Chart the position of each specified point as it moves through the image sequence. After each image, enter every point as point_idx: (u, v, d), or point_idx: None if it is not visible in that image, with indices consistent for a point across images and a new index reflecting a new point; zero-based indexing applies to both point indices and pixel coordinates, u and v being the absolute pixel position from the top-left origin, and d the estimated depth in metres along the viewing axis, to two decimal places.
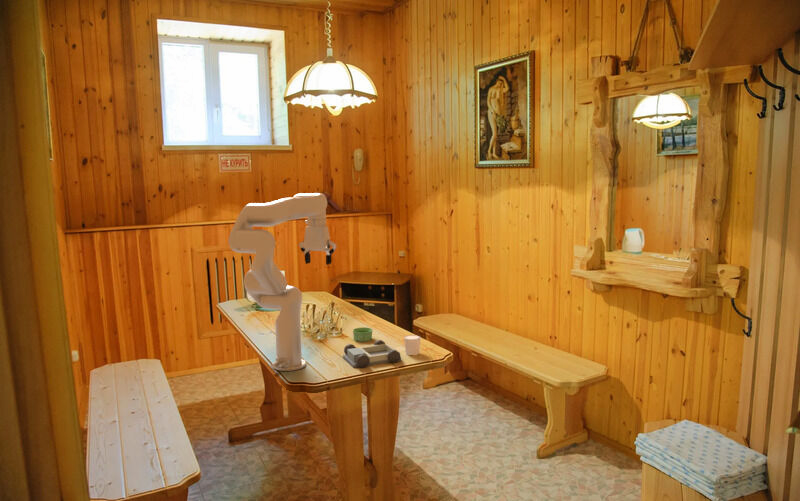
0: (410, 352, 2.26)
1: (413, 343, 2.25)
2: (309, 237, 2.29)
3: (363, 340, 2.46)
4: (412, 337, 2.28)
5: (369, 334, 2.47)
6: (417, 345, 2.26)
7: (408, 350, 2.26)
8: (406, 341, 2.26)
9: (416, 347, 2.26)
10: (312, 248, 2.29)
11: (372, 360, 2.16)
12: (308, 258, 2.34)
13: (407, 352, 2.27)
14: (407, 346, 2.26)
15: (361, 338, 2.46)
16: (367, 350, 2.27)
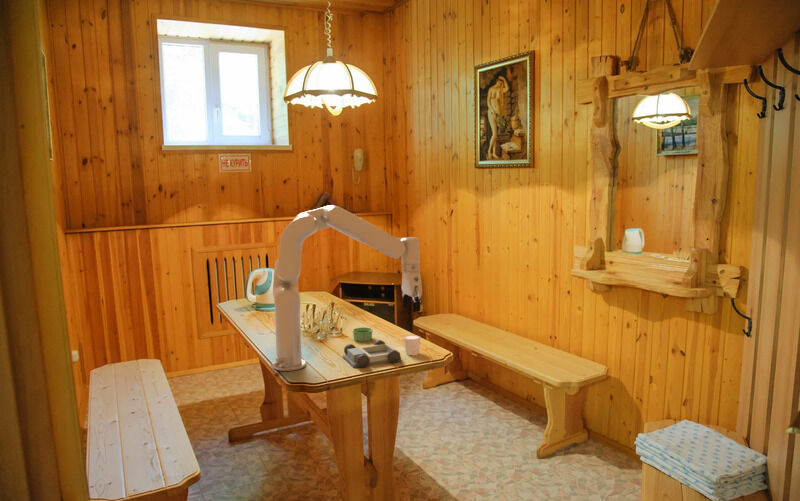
0: (410, 352, 2.26)
1: (413, 343, 2.25)
2: None
3: (363, 340, 2.46)
4: (412, 337, 2.28)
5: (369, 334, 2.47)
6: (417, 345, 2.26)
7: (408, 350, 2.26)
8: (406, 341, 2.26)
9: (416, 347, 2.26)
10: None
11: (372, 360, 2.16)
12: None
13: (407, 352, 2.27)
14: (407, 346, 2.26)
15: (361, 338, 2.46)
16: (367, 350, 2.27)
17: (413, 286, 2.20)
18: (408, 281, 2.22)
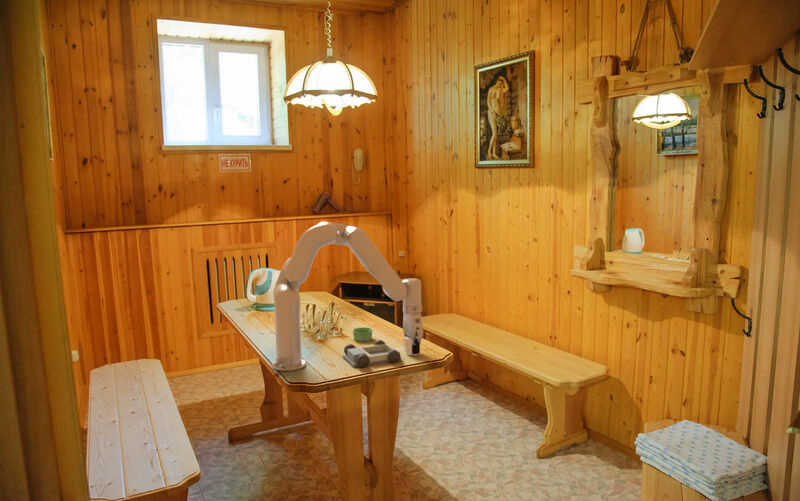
0: (410, 351, 2.26)
1: None
2: None
3: (363, 340, 2.46)
4: None
5: (369, 334, 2.47)
6: None
7: (408, 350, 2.26)
8: (406, 341, 2.26)
9: None
10: None
11: (372, 360, 2.16)
12: None
13: (407, 352, 2.27)
14: (407, 346, 2.26)
15: (361, 338, 2.46)
16: (367, 350, 2.27)
17: (414, 328, 2.23)
18: (409, 322, 2.24)
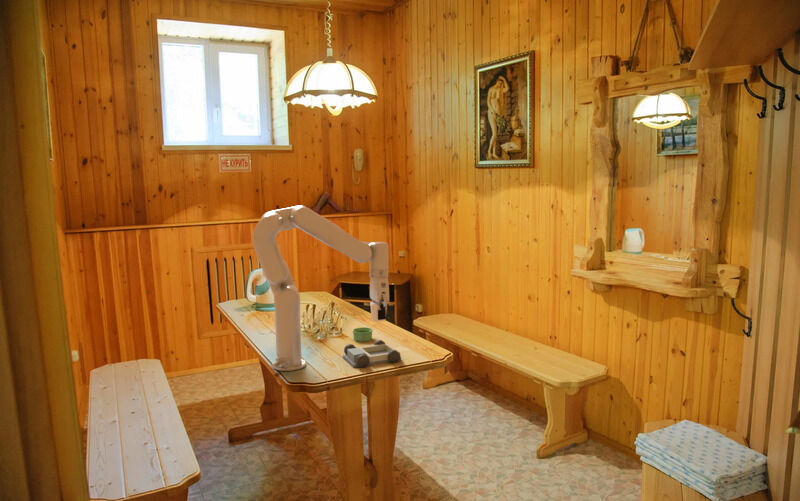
0: (376, 317, 2.19)
1: None
2: None
3: (363, 340, 2.46)
4: None
5: (369, 334, 2.47)
6: None
7: (374, 315, 2.19)
8: (372, 306, 2.19)
9: None
10: None
11: (372, 360, 2.16)
12: None
13: (373, 318, 2.20)
14: (373, 311, 2.19)
15: (361, 338, 2.46)
16: (367, 350, 2.27)
17: (380, 292, 2.15)
18: (375, 287, 2.17)
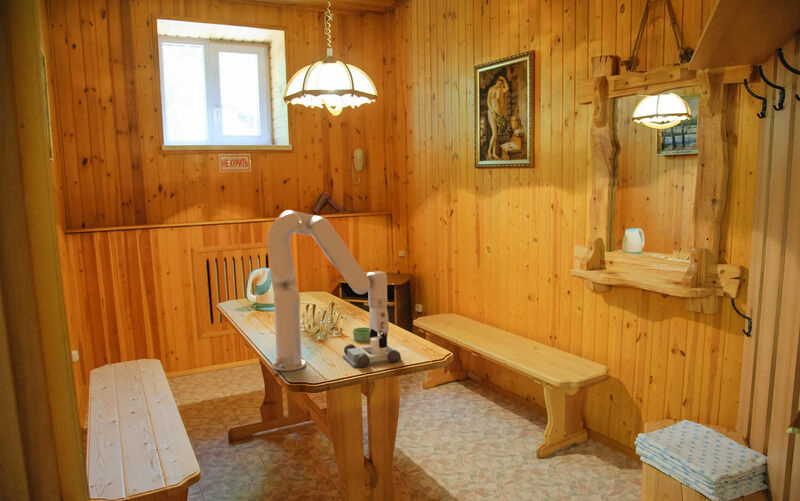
0: (376, 353, 2.20)
1: None
2: None
3: (363, 340, 2.46)
4: (378, 338, 2.23)
5: (369, 334, 2.47)
6: None
7: (374, 351, 2.21)
8: (372, 342, 2.20)
9: (382, 349, 2.20)
10: None
11: (372, 360, 2.16)
12: None
13: (373, 354, 2.21)
14: (373, 348, 2.21)
15: (361, 338, 2.46)
16: (367, 350, 2.27)
17: (379, 322, 2.17)
18: (375, 316, 2.18)
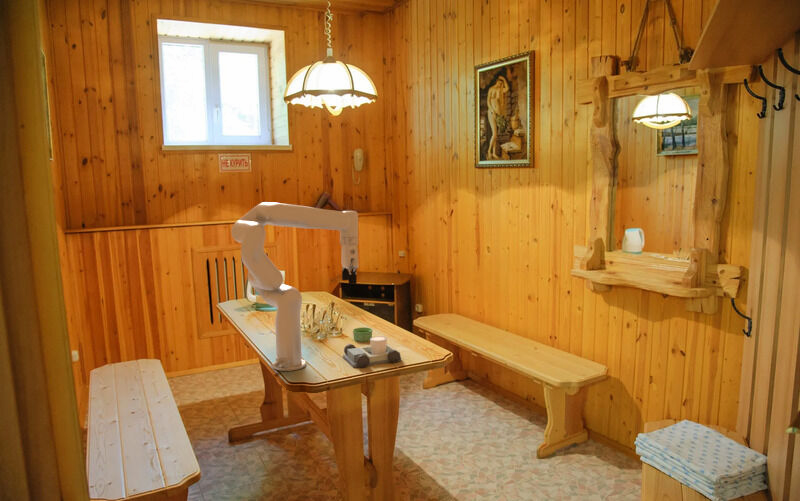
0: (376, 353, 2.20)
1: (379, 344, 2.20)
2: None
3: (363, 340, 2.46)
4: (378, 338, 2.22)
5: (369, 334, 2.47)
6: (383, 347, 2.20)
7: (374, 351, 2.21)
8: (372, 342, 2.20)
9: (382, 349, 2.20)
10: None
11: (372, 360, 2.16)
12: None
13: (373, 354, 2.21)
14: (373, 348, 2.21)
15: (361, 338, 2.46)
16: (367, 350, 2.27)
17: (349, 258, 2.24)
18: (345, 254, 2.25)
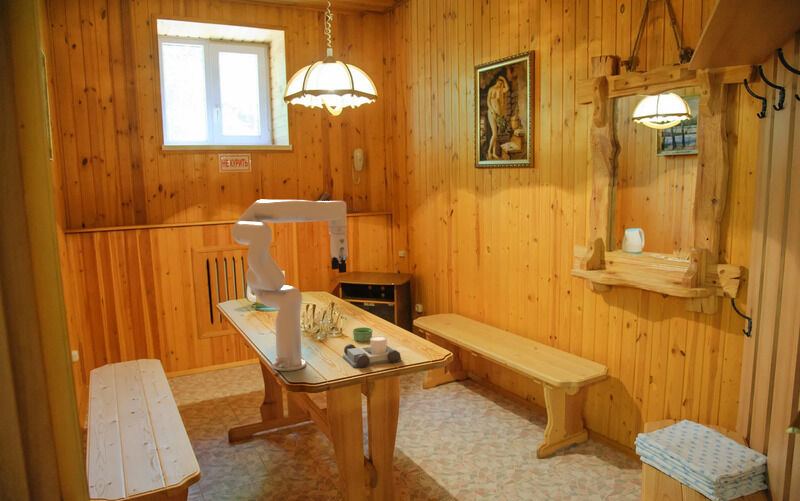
0: (376, 353, 2.20)
1: (379, 344, 2.20)
2: None
3: (363, 340, 2.46)
4: (378, 338, 2.23)
5: (369, 334, 2.47)
6: (383, 347, 2.20)
7: (374, 351, 2.21)
8: (372, 342, 2.20)
9: (382, 349, 2.20)
10: None
11: (372, 360, 2.16)
12: None
13: (373, 354, 2.21)
14: (373, 348, 2.21)
15: (361, 338, 2.46)
16: (367, 350, 2.27)
17: (339, 248, 2.28)
18: (334, 243, 2.29)
